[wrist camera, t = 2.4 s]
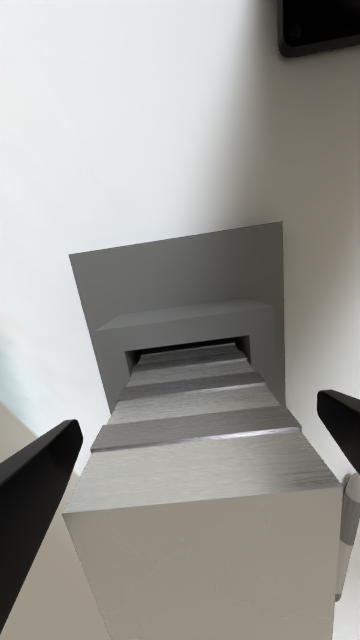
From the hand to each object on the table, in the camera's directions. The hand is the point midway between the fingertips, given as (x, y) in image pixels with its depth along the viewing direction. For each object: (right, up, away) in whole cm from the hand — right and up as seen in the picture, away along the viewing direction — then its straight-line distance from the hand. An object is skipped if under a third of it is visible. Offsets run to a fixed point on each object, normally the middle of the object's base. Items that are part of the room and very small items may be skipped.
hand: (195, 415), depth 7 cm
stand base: (0, +1, +5) cm, 5 cm away
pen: (+12, -14, +9) cm, 21 cm away
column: (0, +1, +4) cm, 4 cm away
